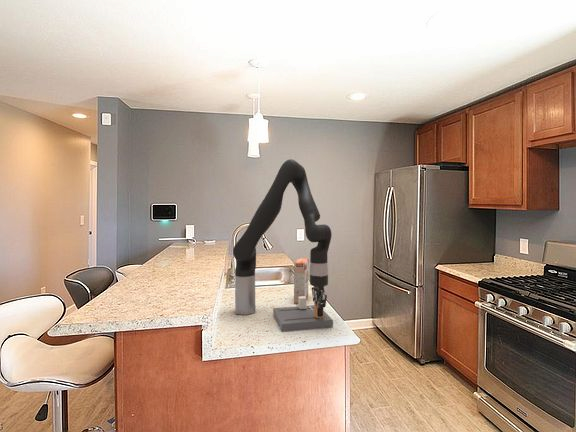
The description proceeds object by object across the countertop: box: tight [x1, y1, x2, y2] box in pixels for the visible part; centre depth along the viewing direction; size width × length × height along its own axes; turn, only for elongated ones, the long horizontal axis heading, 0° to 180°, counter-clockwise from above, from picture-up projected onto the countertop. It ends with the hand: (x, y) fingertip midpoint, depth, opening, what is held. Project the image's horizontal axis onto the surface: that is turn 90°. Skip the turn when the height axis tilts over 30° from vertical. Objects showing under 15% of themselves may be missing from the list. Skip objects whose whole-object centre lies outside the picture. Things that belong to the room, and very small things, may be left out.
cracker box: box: [293, 257, 310, 304], centre depth 167 cm, size 14×6×21 cm, turn 168°
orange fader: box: [313, 303, 325, 318], centre depth 132 cm, size 3×3×5 cm
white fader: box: [297, 296, 308, 309], centre depth 143 cm, size 3×3×5 cm
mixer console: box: [272, 304, 334, 333], centre depth 137 cm, size 21×20×3 cm
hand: (318, 314), depth 132 cm, fingers closed on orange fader, 3 cm apart
